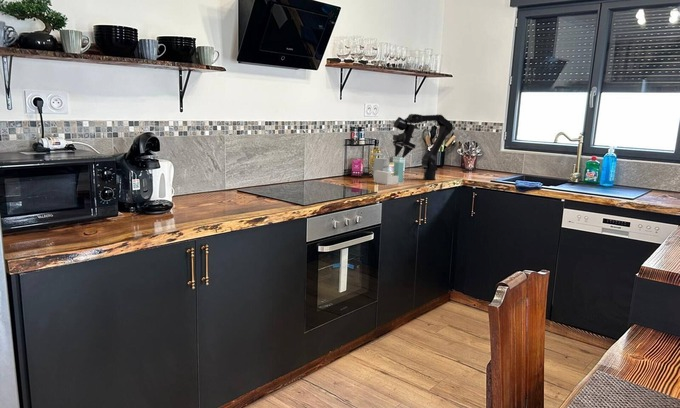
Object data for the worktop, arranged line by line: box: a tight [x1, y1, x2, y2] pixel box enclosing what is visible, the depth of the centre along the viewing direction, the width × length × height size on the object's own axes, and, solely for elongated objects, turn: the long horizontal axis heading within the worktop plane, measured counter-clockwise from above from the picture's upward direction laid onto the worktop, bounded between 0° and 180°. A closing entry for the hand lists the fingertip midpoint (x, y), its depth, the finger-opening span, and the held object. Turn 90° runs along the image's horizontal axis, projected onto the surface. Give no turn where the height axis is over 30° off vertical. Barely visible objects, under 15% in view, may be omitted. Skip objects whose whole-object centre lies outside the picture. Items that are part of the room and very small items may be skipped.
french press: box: [370, 137, 384, 176], centre depth 340 cm, size 10×12×25 cm
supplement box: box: [372, 157, 390, 179], centre depth 328 cm, size 7×7×13 cm
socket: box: [373, 170, 399, 186], centre depth 305 cm, size 10×12×7 cm
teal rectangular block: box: [391, 161, 405, 184], centre depth 310 cm, size 6×4×12 cm
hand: (399, 156), depth 317 cm, fingers open, 9 cm apart
